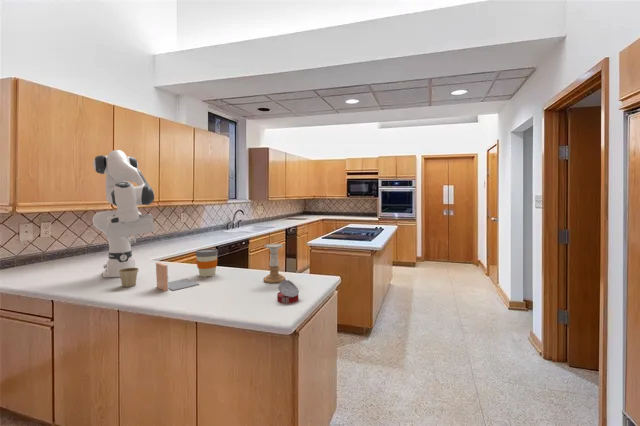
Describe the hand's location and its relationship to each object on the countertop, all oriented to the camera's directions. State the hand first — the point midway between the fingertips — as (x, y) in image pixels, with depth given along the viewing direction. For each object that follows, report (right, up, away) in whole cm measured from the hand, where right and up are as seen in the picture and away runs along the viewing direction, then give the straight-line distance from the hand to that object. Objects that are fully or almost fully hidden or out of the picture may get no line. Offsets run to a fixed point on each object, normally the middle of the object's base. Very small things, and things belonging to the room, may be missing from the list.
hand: (132, 243), depth 156 cm
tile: (+10, -24, +9) cm, 28 cm away
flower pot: (-10, -24, +14) cm, 30 cm away
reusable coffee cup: (+24, -23, +35) cm, 48 cm away
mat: (+16, -24, +15) cm, 33 cm away
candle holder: (+66, -23, +23) cm, 74 cm away
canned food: (+77, -26, -9) cm, 82 cm away
